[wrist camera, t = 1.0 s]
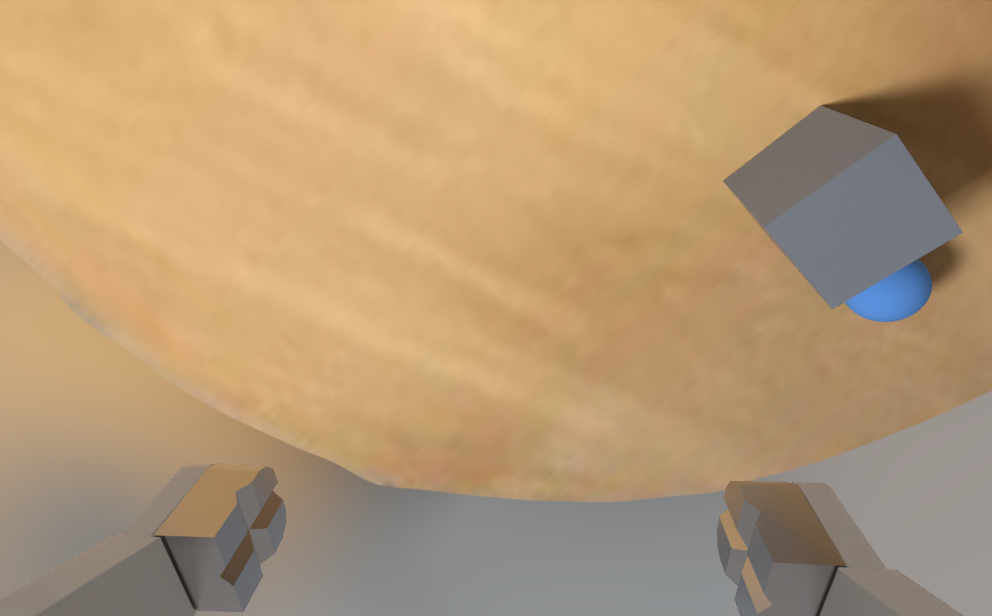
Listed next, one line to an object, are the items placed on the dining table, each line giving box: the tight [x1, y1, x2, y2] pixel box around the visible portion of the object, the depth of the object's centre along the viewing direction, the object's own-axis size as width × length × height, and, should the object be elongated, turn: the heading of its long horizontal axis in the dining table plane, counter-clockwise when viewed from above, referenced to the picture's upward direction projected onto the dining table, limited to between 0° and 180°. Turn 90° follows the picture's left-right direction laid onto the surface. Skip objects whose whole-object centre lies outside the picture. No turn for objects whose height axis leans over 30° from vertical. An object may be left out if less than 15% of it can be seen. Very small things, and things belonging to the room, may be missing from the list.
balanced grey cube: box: [724, 106, 963, 309], centre depth 31 cm, size 7×7×9 cm
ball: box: [845, 259, 932, 322], centre depth 35 cm, size 5×5×5 cm
